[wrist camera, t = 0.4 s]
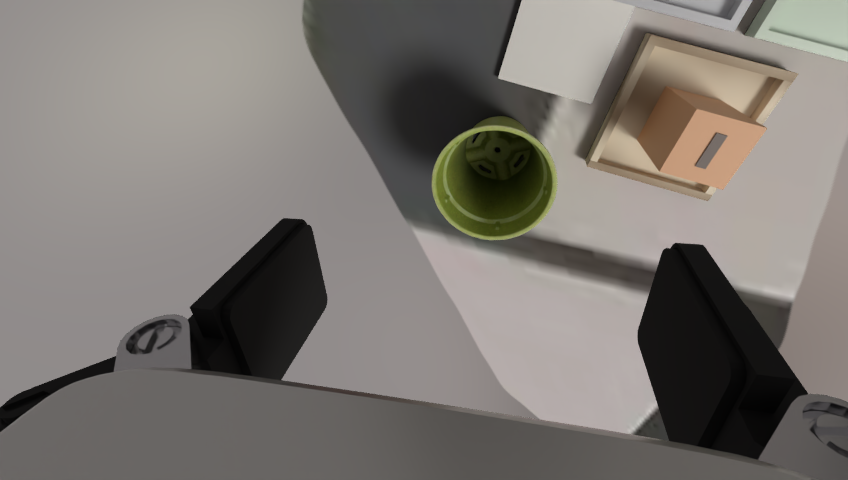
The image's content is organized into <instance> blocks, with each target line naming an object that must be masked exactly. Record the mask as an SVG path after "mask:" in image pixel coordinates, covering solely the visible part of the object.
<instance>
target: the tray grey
mask: <svg viewBox="0 0 848 480" xmlns="http://www.w3.org/2000/svg"><path fill="white" fill-rule="evenodd" d="M613 1H617V2H620V3H624V4H628V5H632V6H635V7H639V8H643V9H647V10H651V11H654V12H658V13H662V14H666V15H670V16H673V17H677V18H681V19H685V20H689V21H692V22H696V23H700V24H704V25H708V26H712V27H715V28H719V29H723V30H727V31H731V32H734V31H735V29H736V28H737V26H738V24H739V23H740V21H741V19H742V18H743V16H744V14H745V13H746V11H747V9H748V7H749V6H750V4H751V2H752V1H753V0H613Z"/></svg>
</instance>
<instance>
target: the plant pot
mask: <svg viewBox="0 0 848 480" xmlns="http://www.w3.org/2000/svg"><path fill="white" fill-rule="evenodd" d="M478 132H481V133H480V134H479V136H478V137H477V138H476V140H475V142H474V143H473V142H472V140H473V136H474V134H475V133H478ZM497 147H498V148H500V152H498V153H497V152H495V148H497ZM521 155H523V156H524V159H523V161H522V162H521V163H520V165H518V166H517V167H514V164H515V163H516V162H517V161H518V160H519V158H520V156H521ZM479 165H482V166H483V167H485V168H487V169H488V170H491V172H490V173H488V172H486V171H483V170H481V169H480V168H479ZM432 191H433V196H434V200H435V202H436V205H437V207H438V208H439V210H440V212H441V213H442V214H443V216H444V217H445V218H446V219H447V221H448V222H449V223H450V224H452V225H453V226H454V227H455V228H457V229H459V230H460V231H462V232H464V233H466V234H468V235H470V236H473V237H477V238H481V239H487V240H503V239H509V238H513V237H516V236H519V235H522V234H524V233H526V232H528V231H529V230H531V229H532V228H534V227H535V226H536V225H537V224H539V223H540V222H541V221H542V219H543V218H544V217H545V216H546V214H547V213H548V212H549V210H550V208H551V206H552V204H553V202H554V199H555V196H556V191H557V172H556V168H555V165H554V162H553V159H552V157H551V155H550V154H549V152H548V151H547V149H546V148H545V147H544V145H543V144H542V143H541V142H540V141H539V140H537V139H536V138H535V137H533V136H532V135H530V134H529V133H528V132H527V130H526V129H525V127H524V126H523V125H522V124H521V123H519V122H518V121H516V120H514V119H512V118H509V117H505V116H496V117H491V118H487V119H485V120H482V121H480V122H479V123H478V124H476V125H475V126H474V127H473V128H472V129H469V130H467V131H465V132H463V133H461V134H459V135H458V136H456V137H455V138H454V139H453V140H451V141H450V142H449V143H448V144H447V145H446V146H445V148H444V149H443V150H442V152H441V153H440V155H439V157H438V158H437V161H436V163H435V165H434V169H433V174H432Z"/></svg>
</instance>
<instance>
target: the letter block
mask: <svg viewBox="0 0 848 480" xmlns="http://www.w3.org/2000/svg"><path fill="white" fill-rule="evenodd" d="M766 130H767V128H766V127H765V126H763V125H761V124H760V123H758V122H756V121H755V120H753V119H751V118H750V117H748V116H746V115H745V114H743V113H741V112H740V111H738V110H736V109H735V108H733V107H731V106H730V105H728V104H727V103H725V102H723V101H720V100H716V99H712V98H709V97H705V96H701V95H698V94H694V93H690V92H687V91H683V90H679V89H676V88H672V87H668V86H666V87H665V88H664V90H663V92H662V94H661V96H660V98H659V100H658V101H657V103H656V105H655V107H654V109H653V111H652V112H651V114H650V116H649V118H648V120H647V122H646V124H645V125H644V127H643V129H642V131H641V133H640V135H639V137H638V138H637V141H638V142H639V144H640V145H641V146H642V148H643V149H644V151H645V152H646V154H647V155H648V156H649V158H650V159H651V161H652V162H653V164H654V165H655V166H656V168H657V169H658V171H659V172H662V173H666V174H669V175H673V176H676V177H680V178H683V179H687V180H690V181H694V182H697V183H701V184H704V185H708V186H711V187H715V188H718V189H722V190H723V189H724V188H725V186H726V185H727V183H728V182H729V181H730V179H731V178H732V177H733V175H734V174H735V172H736V171H737V170H738V168H739V167H740V165H741V164H742V163H743V161H744V160H745V159H746V157H747V156H748V154H749V153H750V152H751V150H752V149H753V147H754V146H755V145H756V143H757V142H758V141H759V139H760V138H761V136H762V135H763V134H764V132H765V131H766Z"/></svg>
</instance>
